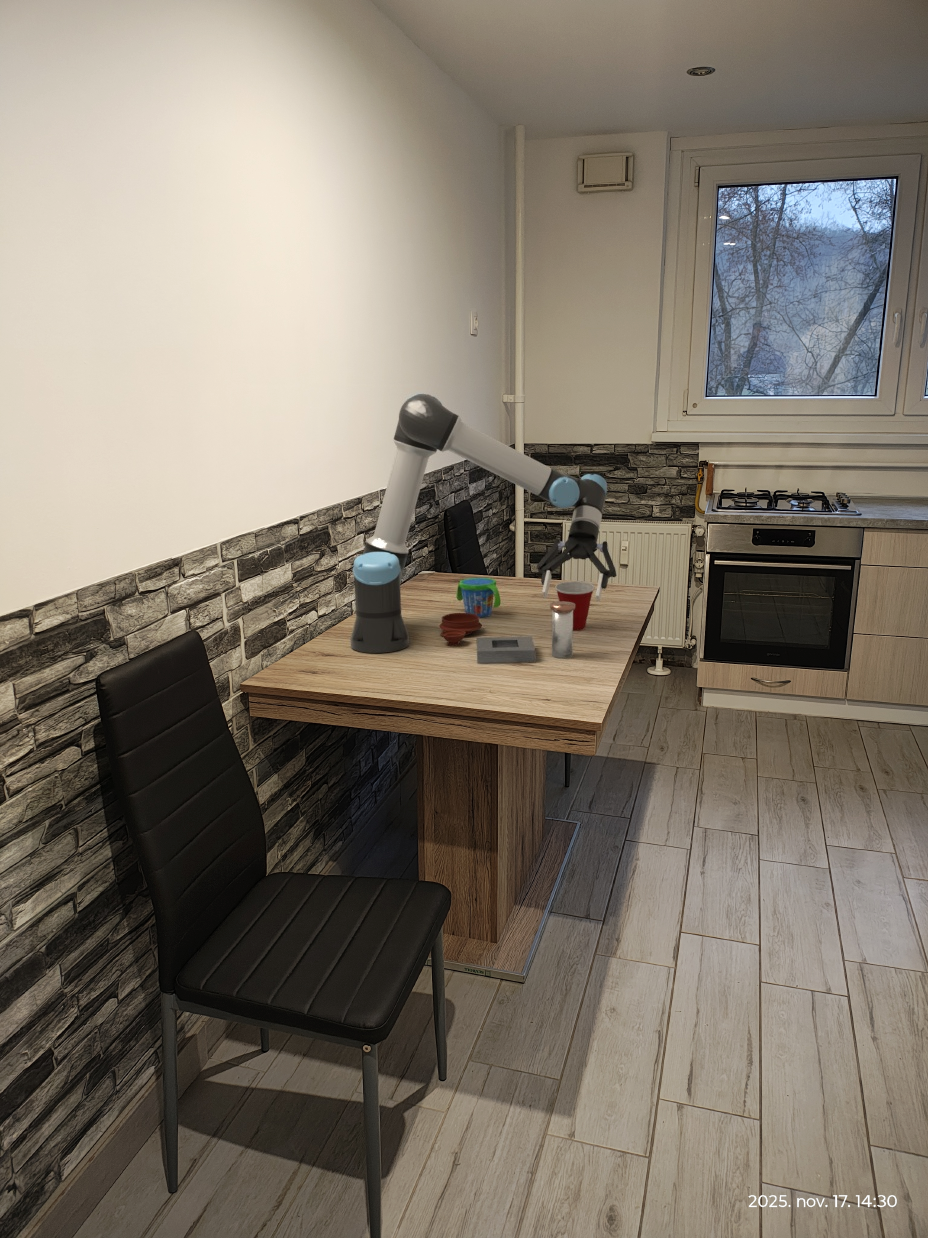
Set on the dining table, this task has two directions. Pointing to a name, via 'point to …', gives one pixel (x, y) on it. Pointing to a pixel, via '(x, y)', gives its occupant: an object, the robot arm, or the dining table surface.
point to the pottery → (458, 626)
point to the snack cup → (478, 595)
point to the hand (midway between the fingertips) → (570, 596)
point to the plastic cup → (576, 599)
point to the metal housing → (505, 649)
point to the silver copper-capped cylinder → (562, 629)
